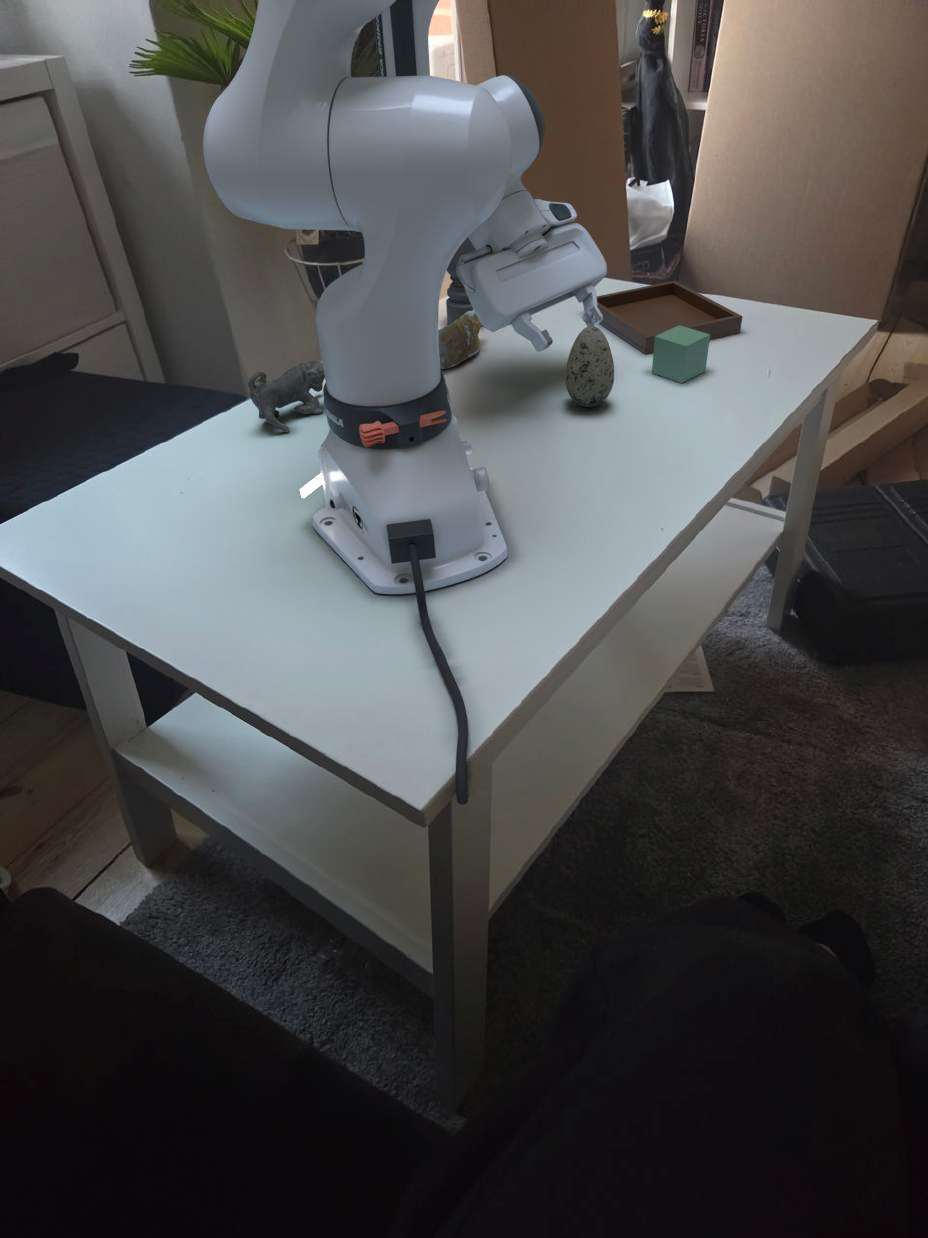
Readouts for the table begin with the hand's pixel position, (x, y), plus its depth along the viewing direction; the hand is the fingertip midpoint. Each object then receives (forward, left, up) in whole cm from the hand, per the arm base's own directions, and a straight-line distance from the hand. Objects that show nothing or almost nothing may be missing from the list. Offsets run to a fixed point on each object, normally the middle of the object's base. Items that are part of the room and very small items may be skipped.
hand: (571, 335), depth 102 cm
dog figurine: (+12, +33, -8) cm, 36 cm away
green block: (0, -16, -8) cm, 18 cm away
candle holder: (+31, +2, -8) cm, 32 cm away
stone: (+20, +9, -8) cm, 24 cm away
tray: (+16, -23, -8) cm, 29 cm away
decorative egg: (-3, -1, -8) cm, 9 cm away
